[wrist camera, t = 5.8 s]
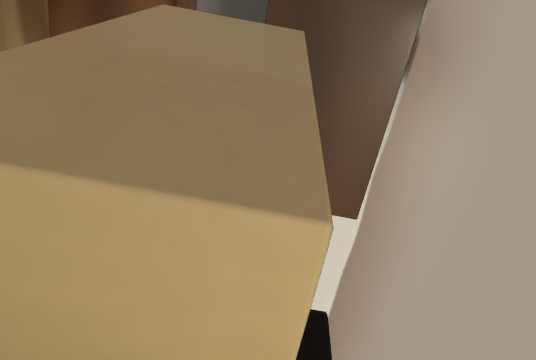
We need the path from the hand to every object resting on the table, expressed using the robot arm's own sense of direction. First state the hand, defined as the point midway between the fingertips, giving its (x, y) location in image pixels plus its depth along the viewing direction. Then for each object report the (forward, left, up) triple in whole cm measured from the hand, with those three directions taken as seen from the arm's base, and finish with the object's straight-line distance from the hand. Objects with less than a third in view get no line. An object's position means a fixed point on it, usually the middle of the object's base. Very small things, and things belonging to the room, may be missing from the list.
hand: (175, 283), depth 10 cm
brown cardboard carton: (-3, +4, -33) cm, 34 cm away
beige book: (0, 0, -5) cm, 5 cm away
